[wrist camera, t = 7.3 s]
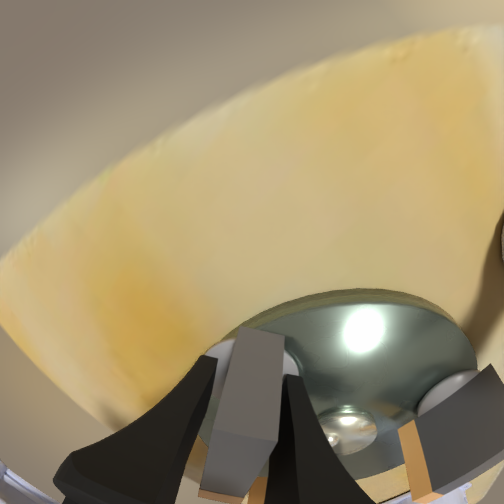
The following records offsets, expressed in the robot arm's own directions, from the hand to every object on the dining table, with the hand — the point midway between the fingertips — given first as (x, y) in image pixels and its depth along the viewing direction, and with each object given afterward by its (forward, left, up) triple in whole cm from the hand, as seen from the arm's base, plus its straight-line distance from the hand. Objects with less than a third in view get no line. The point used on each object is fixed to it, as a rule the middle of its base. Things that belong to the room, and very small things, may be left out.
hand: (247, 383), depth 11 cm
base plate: (-6, 0, -2) cm, 6 cm away
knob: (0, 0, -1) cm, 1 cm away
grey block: (-9, -5, 0) cm, 10 cm away
